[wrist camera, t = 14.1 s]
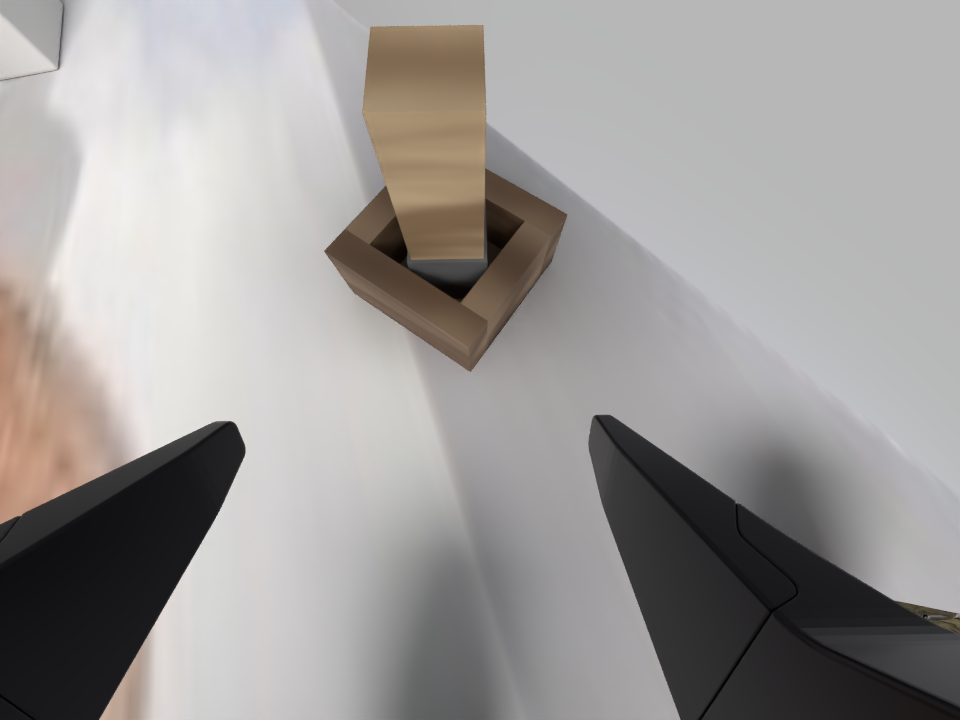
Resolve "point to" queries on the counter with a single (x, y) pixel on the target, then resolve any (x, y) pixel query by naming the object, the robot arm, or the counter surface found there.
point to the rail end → (432, 145)
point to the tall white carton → (29, 37)
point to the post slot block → (427, 310)
